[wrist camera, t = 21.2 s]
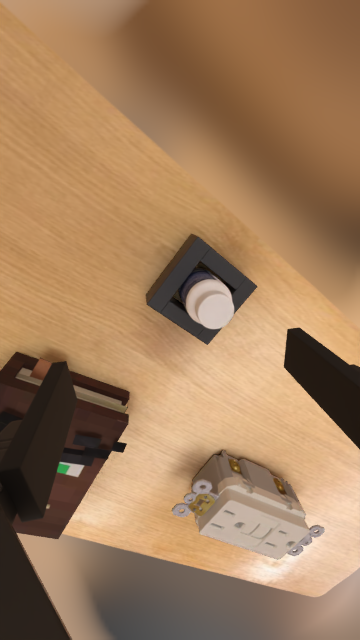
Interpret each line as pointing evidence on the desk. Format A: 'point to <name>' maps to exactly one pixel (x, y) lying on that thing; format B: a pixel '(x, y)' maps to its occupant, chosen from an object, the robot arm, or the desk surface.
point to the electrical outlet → (247, 508)
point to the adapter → (178, 273)
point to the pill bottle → (207, 299)
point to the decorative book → (82, 440)
